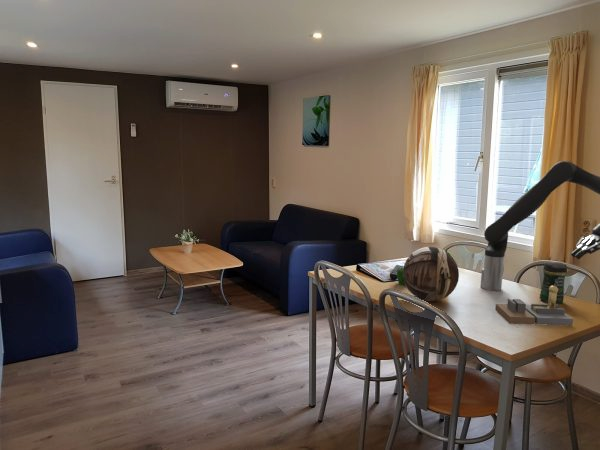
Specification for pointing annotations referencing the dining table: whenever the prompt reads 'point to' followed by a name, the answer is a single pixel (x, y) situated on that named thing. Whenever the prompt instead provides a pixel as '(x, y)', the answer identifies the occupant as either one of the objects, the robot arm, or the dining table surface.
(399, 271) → the bell pepper
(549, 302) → the bolt
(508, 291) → the dining table surface
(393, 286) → the dining table surface
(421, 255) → the sphere
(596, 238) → the robot arm
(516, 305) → the door edge model
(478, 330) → the dining table surface
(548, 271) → the coffee jar
